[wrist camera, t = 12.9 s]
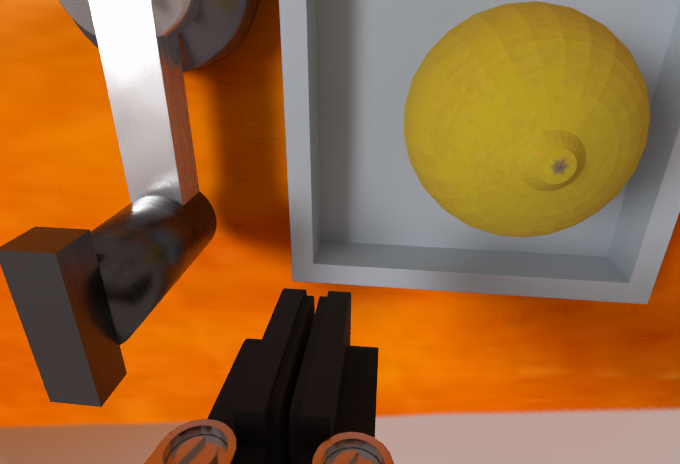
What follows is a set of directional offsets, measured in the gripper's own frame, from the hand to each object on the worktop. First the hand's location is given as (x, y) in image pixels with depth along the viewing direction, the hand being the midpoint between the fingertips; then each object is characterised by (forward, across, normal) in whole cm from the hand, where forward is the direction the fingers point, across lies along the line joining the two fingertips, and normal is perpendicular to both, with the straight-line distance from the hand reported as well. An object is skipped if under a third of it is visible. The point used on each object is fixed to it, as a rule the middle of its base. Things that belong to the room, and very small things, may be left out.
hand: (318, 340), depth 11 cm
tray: (+8, -4, -5) cm, 10 cm away
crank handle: (+6, +6, -5) cm, 9 cm away
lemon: (+7, -5, -5) cm, 10 cm away
